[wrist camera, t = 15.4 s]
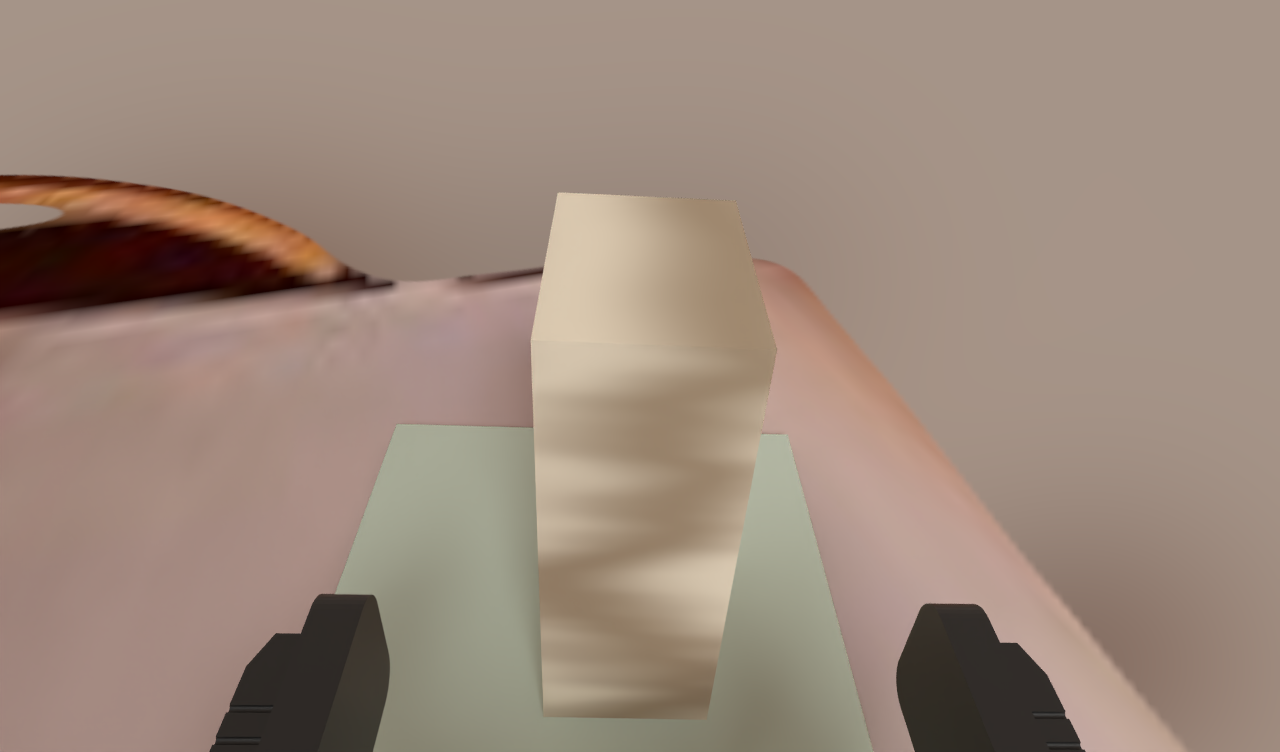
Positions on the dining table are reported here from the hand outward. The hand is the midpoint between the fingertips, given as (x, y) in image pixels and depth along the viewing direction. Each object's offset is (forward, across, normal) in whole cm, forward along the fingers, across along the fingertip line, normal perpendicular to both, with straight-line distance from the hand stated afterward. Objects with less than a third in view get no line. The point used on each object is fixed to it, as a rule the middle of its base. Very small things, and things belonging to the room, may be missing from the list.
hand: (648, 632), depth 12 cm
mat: (+7, +1, +8) cm, 11 cm away
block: (+6, 0, +8) cm, 10 cm away
